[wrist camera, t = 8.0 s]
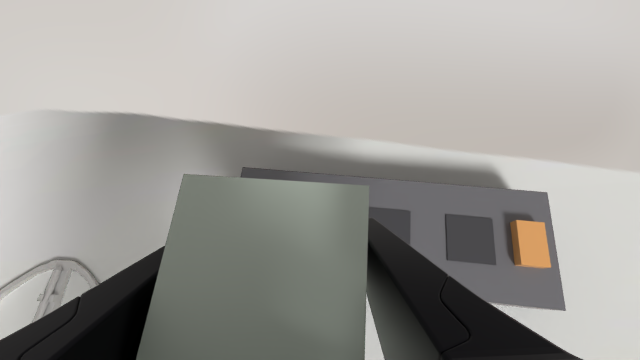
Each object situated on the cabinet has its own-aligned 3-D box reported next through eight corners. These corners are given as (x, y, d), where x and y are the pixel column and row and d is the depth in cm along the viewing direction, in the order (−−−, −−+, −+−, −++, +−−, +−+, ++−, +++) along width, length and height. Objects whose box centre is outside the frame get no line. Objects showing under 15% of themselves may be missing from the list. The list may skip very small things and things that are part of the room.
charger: (345, 340, 14) (362, 417, 5) (255, 331, 14) (128, 389, 6) (349, 248, 16) (368, 185, 7) (268, 242, 16) (183, 174, 7)
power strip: (520, 205, 22) (554, 188, 19) (533, 308, 20) (574, 311, 16) (253, 182, 24) (239, 163, 20) (235, 275, 22) (216, 271, 18)
